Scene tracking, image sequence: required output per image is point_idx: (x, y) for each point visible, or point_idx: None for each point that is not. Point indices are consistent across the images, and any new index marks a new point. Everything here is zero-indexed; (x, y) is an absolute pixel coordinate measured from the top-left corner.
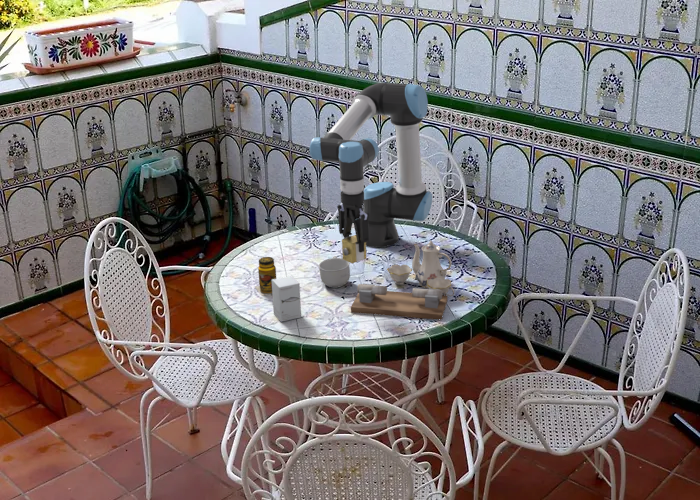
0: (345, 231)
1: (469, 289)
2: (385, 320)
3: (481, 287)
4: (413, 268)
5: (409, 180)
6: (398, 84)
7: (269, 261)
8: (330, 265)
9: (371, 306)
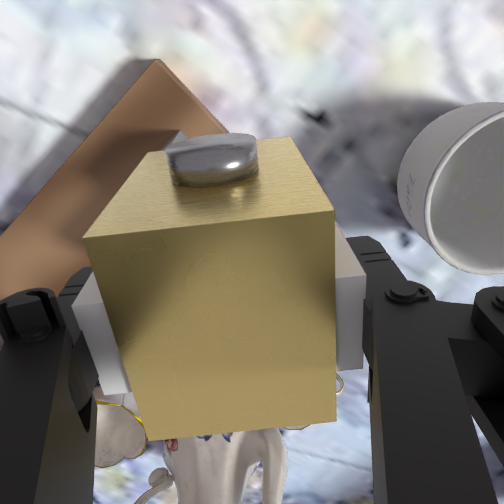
0: (380, 356)
1: (111, 467)
2: (12, 148)
3: (106, 491)
4: (268, 431)
5: None
6: None
7: None
8: None
9: (108, 150)
